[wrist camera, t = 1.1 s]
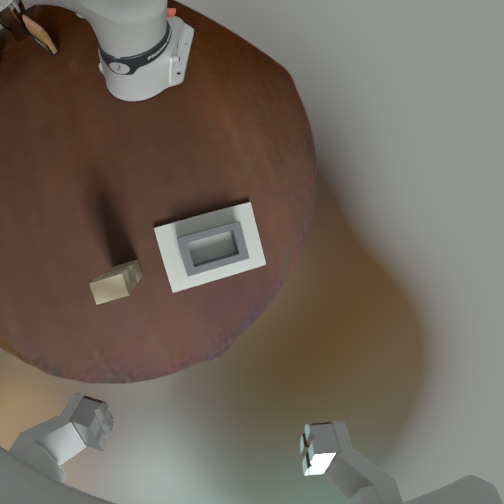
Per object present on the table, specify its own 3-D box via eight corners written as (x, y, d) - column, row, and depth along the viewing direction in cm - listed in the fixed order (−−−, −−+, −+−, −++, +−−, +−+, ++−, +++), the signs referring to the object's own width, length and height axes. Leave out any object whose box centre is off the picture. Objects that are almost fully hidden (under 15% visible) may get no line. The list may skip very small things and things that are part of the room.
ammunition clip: (59, 51, 38) (43, 23, 26) (53, 56, 37) (35, 29, 26) (40, 36, 35) (24, 10, 23) (35, 41, 35) (18, 16, 23)
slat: (113, 266, 47) (89, 283, 32) (137, 259, 48) (121, 273, 34) (118, 282, 47) (96, 304, 33) (142, 274, 48) (129, 295, 34)
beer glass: (40, 22, 34) (22, -10, 19) (24, 43, 34) (2, 13, 19) (25, 22, 32) (6, -7, 17) (9, 42, 32) (-13, 15, 17)
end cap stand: (154, 228, 48) (152, 228, 44) (249, 202, 52) (255, 200, 48) (173, 291, 50) (172, 297, 46) (264, 263, 54) (272, 267, 50)
